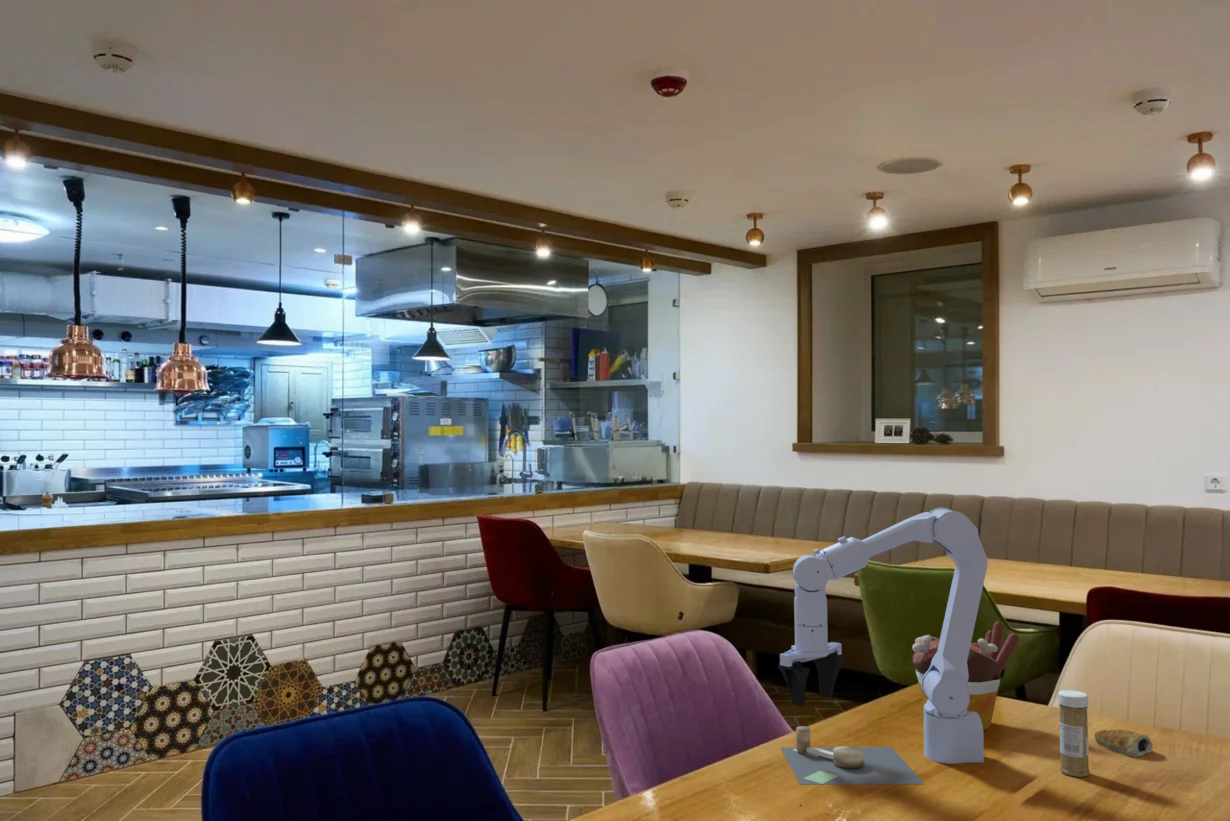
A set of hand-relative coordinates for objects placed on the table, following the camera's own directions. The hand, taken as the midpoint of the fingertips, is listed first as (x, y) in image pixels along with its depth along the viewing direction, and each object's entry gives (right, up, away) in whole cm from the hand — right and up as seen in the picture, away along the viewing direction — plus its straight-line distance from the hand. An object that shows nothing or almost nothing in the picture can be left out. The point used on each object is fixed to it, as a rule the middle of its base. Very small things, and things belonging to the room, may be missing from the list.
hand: (812, 700), depth 168 cm
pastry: (+58, -11, +4) cm, 59 cm away
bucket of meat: (+34, -11, +19) cm, 40 cm away
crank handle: (+2, -8, -4) cm, 10 cm away
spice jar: (+43, -10, -8) cm, 45 cm away
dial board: (+5, -10, -7) cm, 13 cm away
